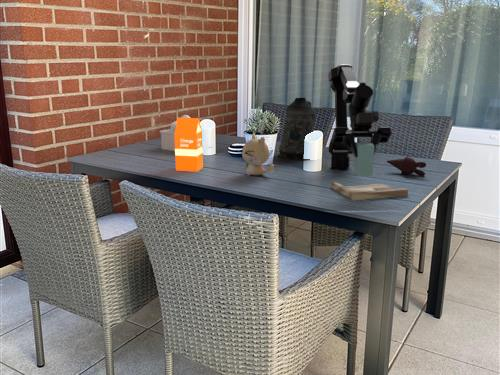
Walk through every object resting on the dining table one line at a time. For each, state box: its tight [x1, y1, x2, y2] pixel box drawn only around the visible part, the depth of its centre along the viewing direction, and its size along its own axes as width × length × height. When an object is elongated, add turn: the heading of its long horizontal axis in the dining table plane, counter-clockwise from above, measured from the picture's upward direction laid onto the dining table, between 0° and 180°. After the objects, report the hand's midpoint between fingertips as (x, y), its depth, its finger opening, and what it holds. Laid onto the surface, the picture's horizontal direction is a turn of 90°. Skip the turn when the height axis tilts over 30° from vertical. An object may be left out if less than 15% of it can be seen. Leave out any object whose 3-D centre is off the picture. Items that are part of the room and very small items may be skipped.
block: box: [352, 141, 375, 177], centre depth 162 cm, size 5×5×10 cm
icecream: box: [386, 156, 427, 177], centre depth 188 cm, size 7×7×15 cm
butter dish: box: [159, 114, 191, 152], centre depth 233 cm, size 18×18×16 cm
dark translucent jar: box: [278, 97, 316, 161], centre depth 218 cm, size 16×19×25 cm
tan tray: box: [331, 181, 409, 201], centre depth 164 cm, size 15×20×2 cm
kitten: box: [241, 132, 275, 177], centre depth 186 cm, size 15×10×15 cm
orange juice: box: [174, 117, 204, 173], centre depth 193 cm, size 8×9×20 cm
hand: (365, 156), depth 161 cm, fingers closed on block, 5 cm apart
